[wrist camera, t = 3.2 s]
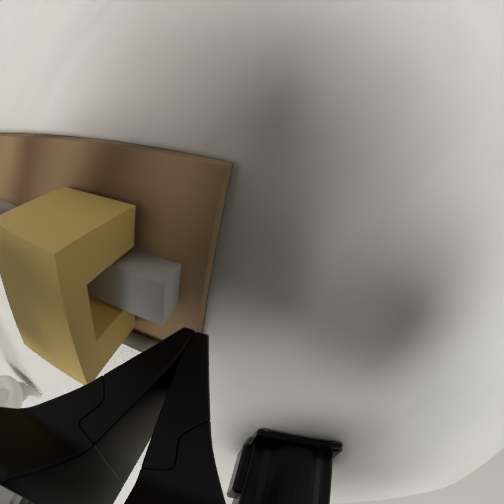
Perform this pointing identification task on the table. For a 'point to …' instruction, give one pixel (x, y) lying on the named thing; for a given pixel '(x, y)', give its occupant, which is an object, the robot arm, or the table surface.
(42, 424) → the robot arm
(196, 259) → the rail board
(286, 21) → the table surface
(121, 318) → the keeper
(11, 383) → the headset
